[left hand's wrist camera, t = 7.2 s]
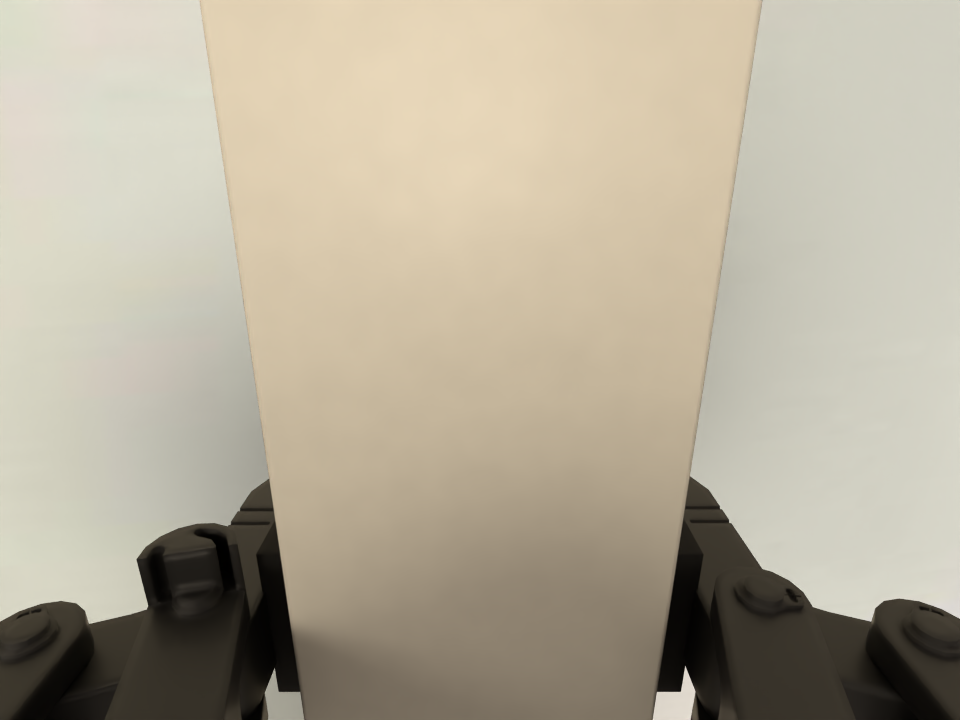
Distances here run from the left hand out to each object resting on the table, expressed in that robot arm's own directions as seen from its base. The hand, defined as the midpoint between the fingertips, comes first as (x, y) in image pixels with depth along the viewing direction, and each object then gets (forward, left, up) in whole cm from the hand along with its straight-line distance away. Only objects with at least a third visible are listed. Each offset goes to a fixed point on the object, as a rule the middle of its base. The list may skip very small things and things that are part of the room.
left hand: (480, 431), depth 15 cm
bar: (+15, +17, -1) cm, 22 cm away
